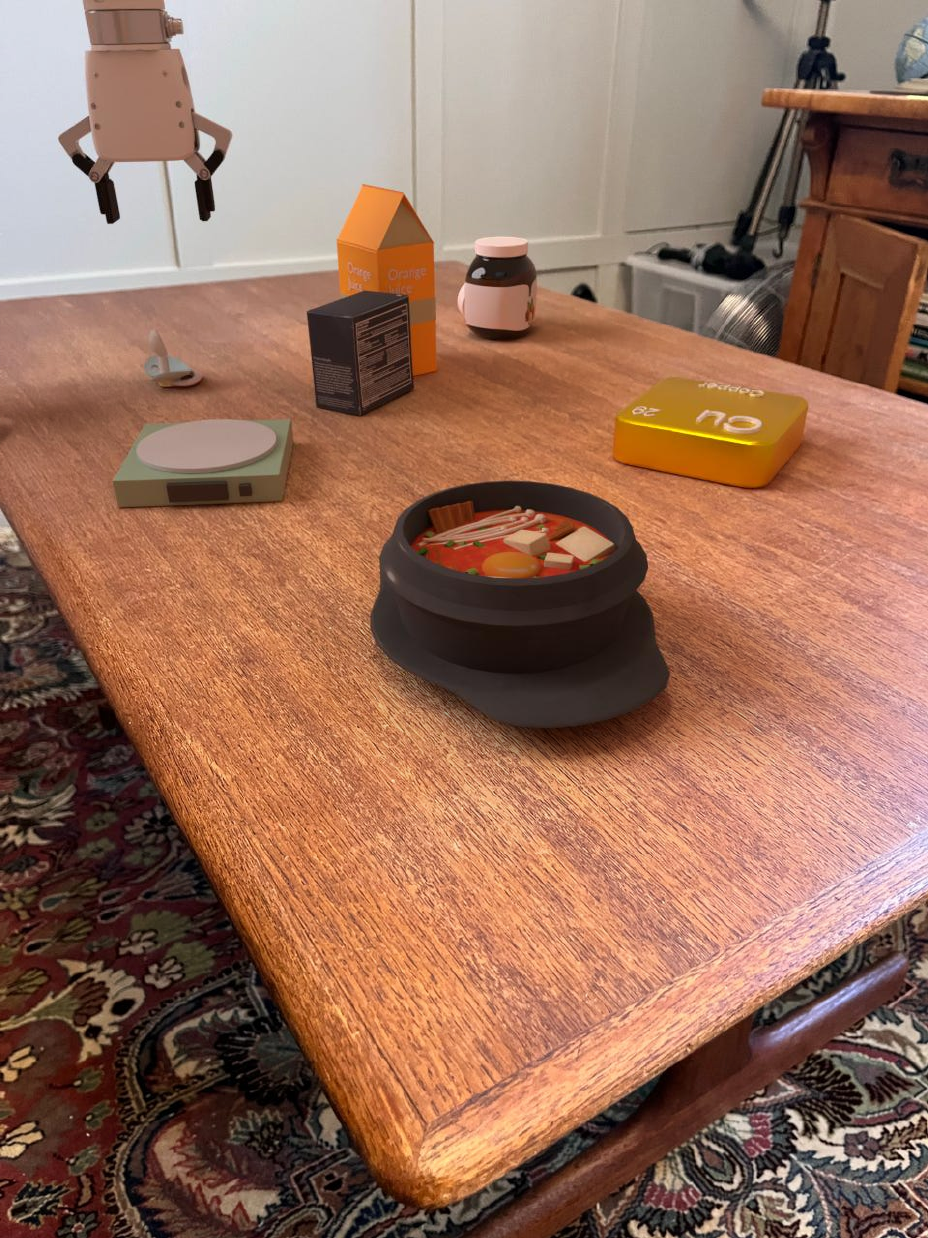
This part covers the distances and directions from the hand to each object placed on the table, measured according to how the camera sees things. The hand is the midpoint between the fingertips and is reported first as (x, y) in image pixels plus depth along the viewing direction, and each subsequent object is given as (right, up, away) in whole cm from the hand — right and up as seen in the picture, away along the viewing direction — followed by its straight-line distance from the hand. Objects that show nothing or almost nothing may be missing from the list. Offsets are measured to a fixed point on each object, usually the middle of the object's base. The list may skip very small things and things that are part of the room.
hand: (159, 220), depth 104 cm
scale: (+9, -29, -14) cm, 33 cm away
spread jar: (+36, -3, +28) cm, 46 cm away
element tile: (+56, -26, -10) cm, 63 cm away
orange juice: (+24, -12, +14) cm, 30 cm away
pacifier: (-1, -15, +10) cm, 18 cm away
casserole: (+35, -44, -39) cm, 68 cm away
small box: (+21, -18, +4) cm, 28 cm away
